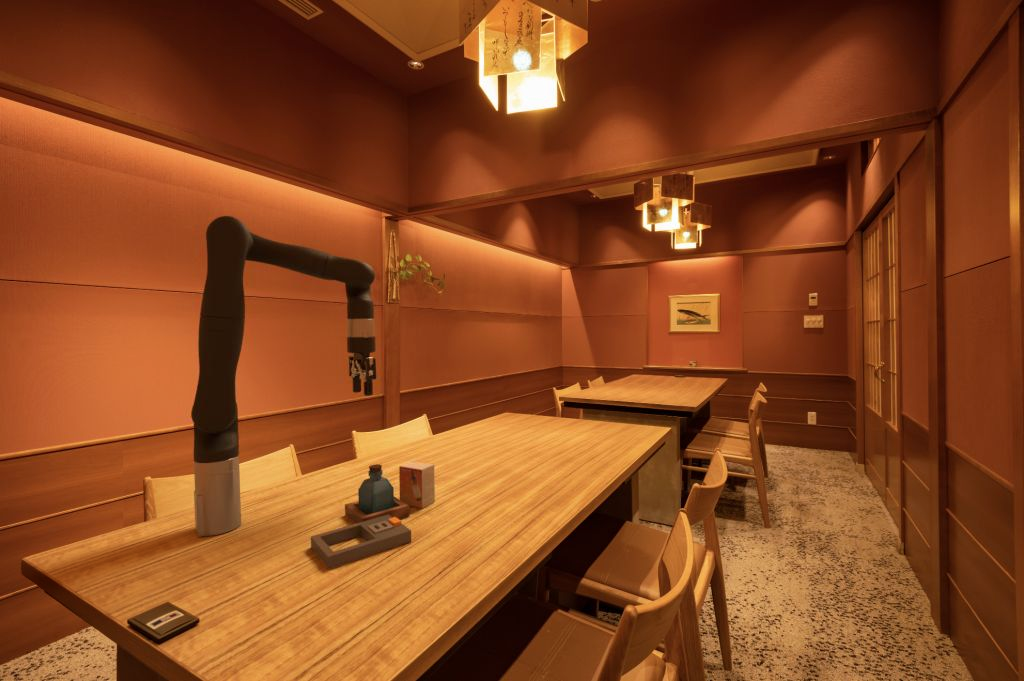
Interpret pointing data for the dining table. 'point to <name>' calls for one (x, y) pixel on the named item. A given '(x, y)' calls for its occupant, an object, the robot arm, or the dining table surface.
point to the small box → (417, 484)
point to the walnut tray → (358, 516)
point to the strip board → (378, 538)
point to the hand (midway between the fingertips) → (362, 393)
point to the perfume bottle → (375, 492)
